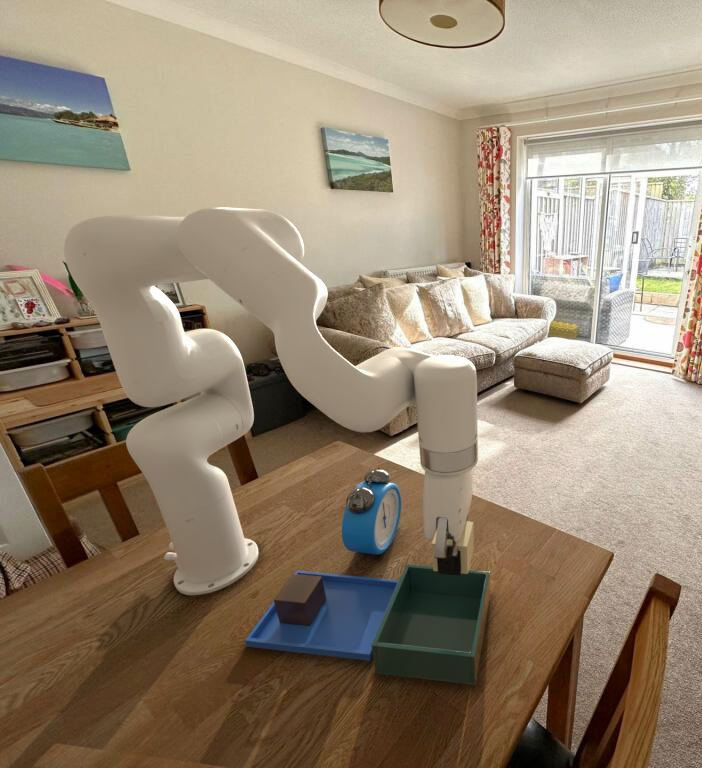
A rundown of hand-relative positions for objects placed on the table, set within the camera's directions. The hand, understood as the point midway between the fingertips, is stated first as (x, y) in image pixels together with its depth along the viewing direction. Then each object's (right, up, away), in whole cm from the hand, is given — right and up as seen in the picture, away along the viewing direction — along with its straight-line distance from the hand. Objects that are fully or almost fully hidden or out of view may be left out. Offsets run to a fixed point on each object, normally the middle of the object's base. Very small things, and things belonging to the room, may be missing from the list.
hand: (454, 556), depth 59 cm
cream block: (0, 0, 0) cm, 1 cm away
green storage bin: (-3, -13, +4) cm, 14 cm away
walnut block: (-25, -11, +6) cm, 28 cm away
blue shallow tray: (-21, -12, +6) cm, 25 cm away
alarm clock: (-18, -6, +21) cm, 28 cm away
